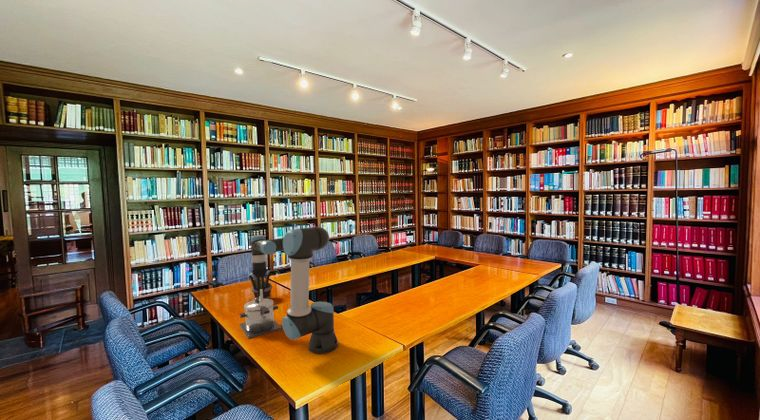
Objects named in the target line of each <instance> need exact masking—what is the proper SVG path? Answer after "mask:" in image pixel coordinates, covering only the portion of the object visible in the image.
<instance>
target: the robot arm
mask: <svg viewBox="0 0 760 420" xmlns="http://www.w3.org/2000/svg"><path fill="white" fill-rule="evenodd" d="M329 242H330V235H329V232H328V231H327V230H326V228H323V227H321V226H311V227H303V228H295V229H290V230H288V231H287V232H286V233H285V234H284V236H283V237H281V238H274V239H266V238H265V235H263V234H258V235H252V236H251V238H250V245H251V261H252V263H251V265H252V270H251V273H249V274H248V275H247V277H248V278H249V279H250V283H251V286H252V287H253V289H254V290H257V295H258V296H259V301H260V302H262V301H263V295H264V290H265V289H266V288H267V287H268V283H270V282H269V281H270V276H271V274H272V272H271V270H268V269H267V261H266V260H267V258H266V255H273V254H274V253H278V252H284V254H285V255H286V256H287V259H289V260H290V296H289V297H290V300H289V301H290V302H289V303H290V304H289V306H290V307H289V308H287V310H286V315H285V316H283V317H282V320H281V327H282V329H283V332H284V334H285V336H286V337H287V338H288V339H290V340H296V339H301V338H302V337H304V336H308V335H310V339H309V342H308V350H309V351H310V352H312V353H314V354H328V353H331V352H333V351H335V350H336V349H337V348H338V347H339V343H338V342H339V341H338V337H337V335H336V332H335V321H334V315H335V314H334V312H335V311H334V305H333V304H332V303H330V302H326V301H315V302H312V303H311V304H310V306H309V300H310V299H309V294H310V290H309V289H310V262H311V261H310V260H311V259H312V258H313V257H314V252H315V251H320V250H323V249H324V248H326V246H327V245H328V244H329ZM265 275H266V276H265ZM255 277H256V285H257V288H256V285H255V282H254V278H255ZM260 278H261V289H260V281H259V279H260ZM264 280H265V285H264Z"/></svg>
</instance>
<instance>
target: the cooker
mask: <svg viewBox="0 0 760 420" xmlns="http://www.w3.org/2000/svg"><path fill="white" fill-rule="evenodd" d="M267 309H269V312H270V313H267V314H263V313H262V312H261V311H260V310H259V311H247V310H245V309H244V312H242V313H239V318H240V319H243V318H245V322H242V323H241V322H240V323H238V324H239V328H241V330H242V331H243V333H244V335H245V336H246V338H247V339H248V340H249V339H253V338H256V337H258V336H263V335H265V334H268V333H269V334H270V333H273V332H277V331H281V330H282V329H283V327H282V325H280V324H279V323H278V322H277V321H276V320H275V317H274V316H275V314H274V311H275V310H279V306H278V305H277V304H275V305H273V306H271V307H270V308H267Z"/></svg>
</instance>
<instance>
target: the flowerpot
mask: <svg viewBox="0 0 760 420" xmlns="http://www.w3.org/2000/svg"><path fill="white" fill-rule="evenodd" d="M253 279H254V282H255V285H256V277H255V276H254V277H253ZM265 280H266V279H264V285H265ZM259 281H260V289H261V278H260V279H259ZM256 288H257V285H256ZM272 289H273V285H272V284H271V283H270V282H268V287H267V288H266V289H265V290H264V295H263V299H271V297H272V295H271V291H272ZM251 292H252V293H253V296H254V297H253V300H255V298H259V296H258V295H257V290H254V289H253V286H252V287H251Z"/></svg>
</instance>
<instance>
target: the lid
mask: <svg viewBox="0 0 760 420" xmlns="http://www.w3.org/2000/svg"><path fill="white" fill-rule="evenodd" d="M271 306H274V300H273V299H272V298H269V299H263V301H262V302H260V301H259V298H255V299H253V300H250V301H247V302H245V304H244V305H243V307H244V308H243V310H244V311H245V310H247V311H259V310H260V311H261V312H262V313H263V314H267V313H270V312H269V309H267V308H270V307H271Z"/></svg>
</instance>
